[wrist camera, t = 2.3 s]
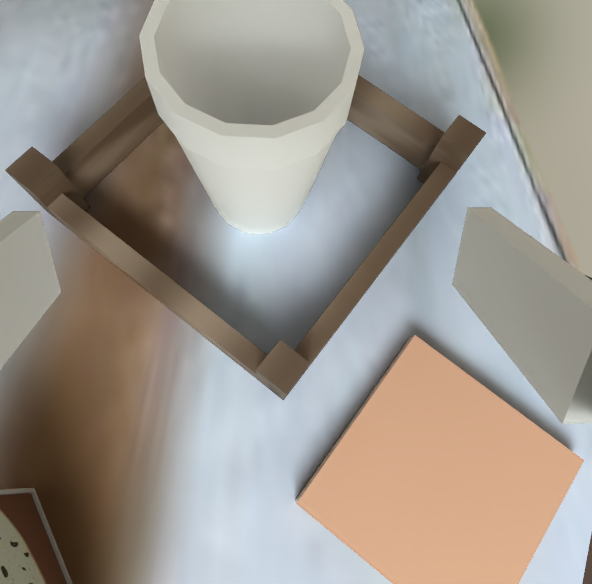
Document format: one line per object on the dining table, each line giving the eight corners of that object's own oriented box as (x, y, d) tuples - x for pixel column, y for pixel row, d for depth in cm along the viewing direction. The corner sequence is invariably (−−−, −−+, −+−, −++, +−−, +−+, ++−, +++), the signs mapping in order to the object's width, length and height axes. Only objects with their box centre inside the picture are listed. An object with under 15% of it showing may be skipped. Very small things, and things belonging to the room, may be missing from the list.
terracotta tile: (295, 500, 27) (296, 503, 25) (409, 338, 30) (414, 334, 29) (470, 645, 25) (479, 656, 24) (571, 458, 28) (584, 460, 27)
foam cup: (253, 110, 34) (244, -74, 21) (352, 185, 33) (405, 36, 20) (161, 199, 31) (91, 49, 19) (265, 283, 30) (263, 182, 18)
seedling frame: (45, 210, 31) (5, 170, 26) (239, 28, 36) (235, -34, 31) (283, 400, 28) (286, 394, 23) (454, 175, 33) (486, 132, 28)
